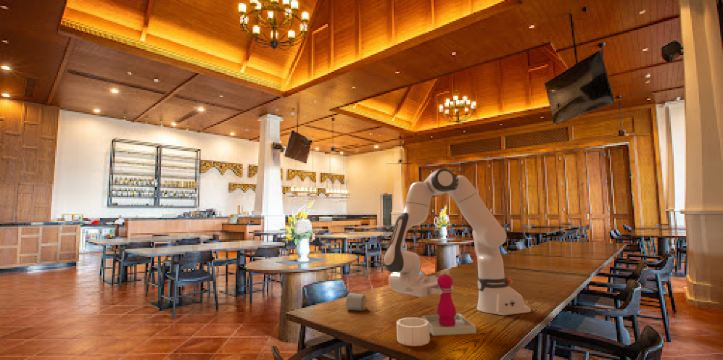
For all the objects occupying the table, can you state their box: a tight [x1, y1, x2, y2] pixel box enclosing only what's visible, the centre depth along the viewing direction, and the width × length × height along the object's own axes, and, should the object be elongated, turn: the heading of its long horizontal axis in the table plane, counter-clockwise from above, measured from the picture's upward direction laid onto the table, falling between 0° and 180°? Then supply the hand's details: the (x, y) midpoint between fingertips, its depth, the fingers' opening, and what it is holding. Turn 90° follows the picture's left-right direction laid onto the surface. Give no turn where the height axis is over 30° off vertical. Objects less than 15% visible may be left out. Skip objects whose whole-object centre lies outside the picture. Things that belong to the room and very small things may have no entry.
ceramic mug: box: [345, 292, 368, 312], centre depth 162 cm, size 11×8×8 cm
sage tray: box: [421, 313, 477, 337], centre depth 132 cm, size 16×16×2 cm
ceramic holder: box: [396, 317, 431, 347], centre depth 119 cm, size 11×11×6 cm
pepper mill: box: [436, 270, 457, 326], centre depth 133 cm, size 7×7×20 cm
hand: (447, 290), depth 132 cm, fingers closed on pepper mill, 5 cm apart
